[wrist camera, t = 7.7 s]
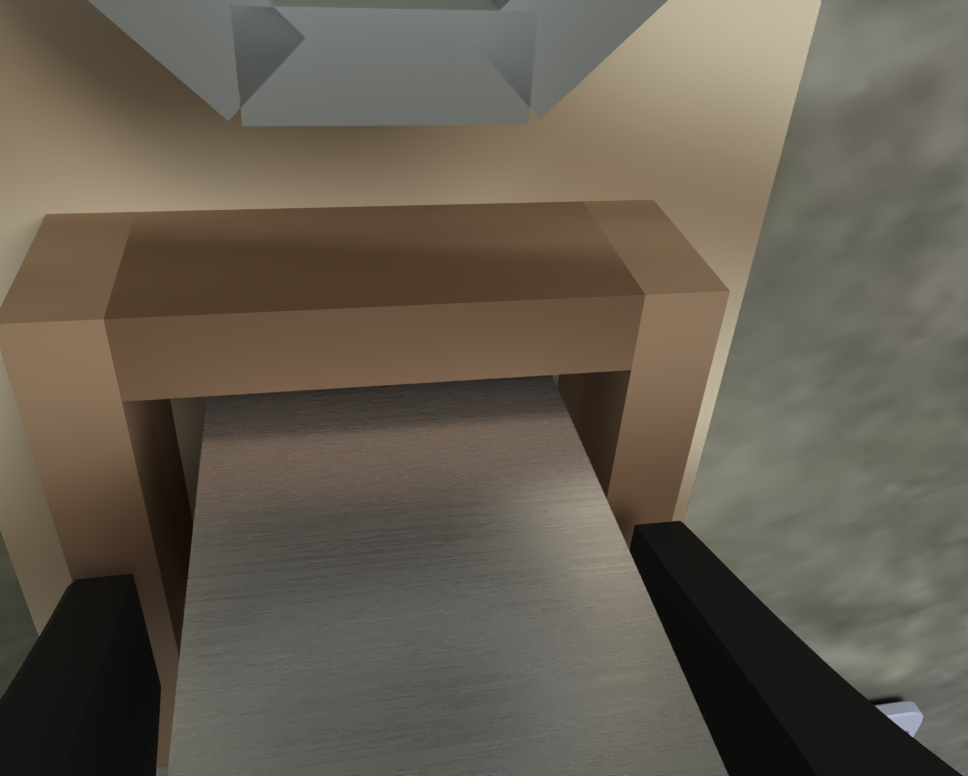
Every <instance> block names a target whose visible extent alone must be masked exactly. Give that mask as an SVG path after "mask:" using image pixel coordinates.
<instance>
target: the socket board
mask: <svg viewBox="0 0 968 776" xmlns="http://www.w3.org/2000/svg"><path fill="white" fill-rule="evenodd" d="M821 1H822V0H0V531H1V534H2V537H3V540H4V542H5V545H6V548H7V551H8V554H9V556H10V559H11V562H12V565H13V567H14V570H15V573H16V576H17V578H18V581H19V584H20V587H21V589H22V592H23V595H24V598H25V600H26V603H27V606H28V609H29V611H30V614H31V617H32V620H33V622H34V625H35V628H36V631H37V633H38V636H40V634H41V633H42V631H43V629H44V627H45V626H46V624H47V622H48V620H49V619H50V617H51V615H52V613H53V612H54V610H55V608H56V606H57V604H58V603H59V601H60V599H61V597H62V595H63V593H64V592H65V590H66V588H67V587H68V586H69V585H70V584H71V583H72V582H73V581H74V580H75V579H84V578H94V577H105V576H115V575H125V574H133V576H134V580H135V584H136V588H137V592H138V596H139V600H140V604H141V608H142V612H143V616H144V620H145V624H146V628H147V632H148V636H149V640H150V644H151V648H152V652H153V656H154V660H155V664H156V668H157V672H158V676H159V680H160V684H161V699H160V718H159V736H158V751H157V766H156V767H158V766H165V765H168V763H169V753H170V744H171V734H172V725H173V715H174V706H175V696H176V687H177V677H178V667H179V658H180V648H181V639H182V629H183V620H184V610H185V601H186V591H187V582H188V572H189V562H190V553H191V543H192V534H193V524H194V515H195V505H196V496H197V486H198V476H199V467H200V457H201V448H202V438H203V429H204V419H205V410H206V400H207V396H221V395H237V394H253V393H269V392H285V391H302V390H318V389H334V388H350V387H366V386H382V385H398V384H414V383H430V382H447V381H463V380H479V379H495V378H511V377H527V376H543V375H552V377H553V379H554V381H555V384H556V386H557V388H558V391H559V393H560V395H561V397H562V400H563V402H564V404H565V406H566V409H567V411H568V413H569V415H570V418H571V420H572V422H573V424H574V427H575V429H576V431H577V434H578V436H579V438H580V440H581V443H582V445H583V447H584V449H585V452H586V454H587V456H588V458H589V461H590V463H591V465H592V467H593V470H594V472H595V474H596V477H597V479H598V481H599V483H600V486H601V488H602V490H603V492H604V495H605V497H606V499H607V501H608V504H609V506H610V508H611V510H612V513H613V515H614V517H615V520H616V522H617V524H618V526H619V529H620V531H621V533H622V535H623V538H624V540H625V542H626V544H627V547H628V549H630V544H631V540H632V535H633V531H634V526H635V525H639V524H649V523H660V522H670V521H680V520H681V521H682V522H683V523H684V519H685V515H686V512H687V508H688V504H689V500H690V497H691V493H692V489H693V485H694V481H695V478H696V474H697V470H698V466H699V462H700V459H701V455H702V451H703V447H704V444H705V440H706V436H707V432H708V428H709V425H710V421H711V417H712V413H713V409H714V406H715V402H716V398H717V394H718V391H719V387H720V383H721V379H722V375H723V372H724V368H725V364H726V360H727V356H728V353H729V349H730V345H731V341H732V338H733V334H734V330H735V326H736V322H737V319H738V315H739V311H740V307H741V303H742V300H743V296H744V292H745V288H746V285H747V281H748V277H749V273H750V269H751V266H752V262H753V258H754V254H755V250H756V247H757V243H758V239H759V235H760V232H761V228H762V224H763V220H764V216H765V213H766V209H767V205H768V201H769V198H770V194H771V190H772V186H773V182H774V179H775V175H776V171H777V167H778V163H779V160H780V156H781V152H782V148H783V145H784V141H785V137H786V133H787V129H788V126H789V122H790V118H791V114H792V110H793V107H794V103H795V99H796V95H797V92H798V88H799V84H800V80H801V76H802V73H803V69H804V65H805V61H806V57H807V54H808V50H809V46H810V42H811V39H812V35H813V31H814V27H815V23H816V20H817V16H818V12H819V8H820V4H821Z"/></svg>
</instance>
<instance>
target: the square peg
mask: <svg viewBox="0 0 968 776" xmlns="http://www.w3.org/2000/svg"><path fill="white" fill-rule="evenodd" d="M167 776H729V775H728V773H727V771H726V768H725V766H724V764H723V762H722V759H721V757H720V755H719V753H718V750H717V748H716V746H715V744H714V741H713V739H712V737H711V734H710V732H709V730H708V728H707V725H706V723H705V721H704V719H703V716H702V714H701V712H700V710H699V707H698V705H697V703H696V701H695V698H694V696H693V694H692V691H691V689H690V687H689V685H688V682H687V680H686V678H685V676H684V673H683V671H682V669H681V667H680V664H679V662H678V660H677V658H676V655H675V653H674V651H673V648H672V646H671V644H670V642H669V639H668V637H667V635H666V633H665V630H664V628H663V626H662V624H661V621H660V619H659V617H658V615H657V612H656V610H655V608H654V606H653V603H652V601H651V599H650V596H649V594H648V592H647V590H646V587H645V585H644V583H643V581H642V578H641V576H640V574H639V572H638V569H637V567H636V565H635V563H634V560H633V558H632V556H631V553H630V551H629V549H628V547H627V544H626V542H625V540H624V538H623V535H622V533H621V531H620V529H619V526H618V524H617V522H616V520H615V517H614V515H613V513H612V510H611V508H610V506H609V504H608V501H607V499H606V497H605V495H604V492H603V490H602V488H601V486H600V483H599V481H598V479H597V477H596V474H595V472H594V470H593V467H592V465H591V463H590V461H589V458H588V456H587V454H586V452H585V449H584V447H583V445H582V443H581V440H580V438H579V436H578V434H577V431H576V429H575V427H574V424H573V422H572V420H571V418H570V415H569V413H568V411H567V409H566V406H565V404H564V402H563V400H562V397H561V395H560V393H559V391H558V388H557V386H556V384H555V381H554V379H553V377H552V375H543V376H527V377H511V378H495V379H479V380H463V381H447V382H430V383H414V384H398V385H382V386H366V387H350V388H334V389H318V390H302V391H285V392H269V393H253V394H237V395H221V396H207V400H206V410H205V419H204V429H203V438H202V448H201V457H200V467H199V476H198V486H197V496H196V505H195V515H194V524H193V534H192V543H191V553H190V562H189V572H188V582H187V591H186V601H185V610H184V620H183V629H182V639H181V648H180V658H179V667H178V677H177V687H176V696H175V706H174V715H173V725H172V734H171V744H170V753H169V763H168V772H167Z"/></svg>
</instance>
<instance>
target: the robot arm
mask: <svg viewBox="0 0 968 776" xmlns="http://www.w3.org/2000/svg"><path fill="white" fill-rule="evenodd" d="M629 551H630V553H631V556H632V558H633V560H634V563H635V565H636V567H637V569H638V572H639V574H640V576H641V578H642V581H643V583H644V585H645V587H646V590H647V592H648V594H649V596H650V599H651V601H652V603H653V606H654V608H655V610H656V612H657V615H658V617H659V619H660V621H661V624H662V626H663V628H664V630H665V633H666V635H667V637H668V639H669V642H670V644H671V646H672V648H673V651H674V653H675V655H676V658H677V660H678V662H679V664H680V667H681V669H682V671H683V673H684V676H685V678H686V680H687V682H688V685H689V687H690V689H691V691H692V694H693V696H694V698H695V701H696V703H697V705H698V707H699V710H700V712H701V714H702V716H703V719H704V721H705V723H706V725H707V728H708V730H709V732H710V734H711V737H712V739H713V741H714V744H715V746H716V748H717V750H718V753H719V755H720V757H721V759H722V762H723V764H724V766H725V768H726V771H727V773H728V775H729V776H962V775H961V774H960V773H959V772H957V771H956V770H955V769H953V768H952V767H951V766H949V765H948V764H947V763H945V762H944V761H943V760H941V759H940V758H939V757H937V756H936V755H935V754H933V753H932V752H931V751H930V750H928V749H927V748H926V747H924V746H923V745H922V744H920V743H919V742H918V741H917V740H915V739H914V738H913V736H914V735H915V733H916V731H917V729H918V728H919V726H920V724H921V722H922V719H923V715H922V713H921V712H920V710H919V709H918V707H917V706H916V704H915V703H913V702H910V701H901V702H894V703H887V704H880V705H873V704H872V703H871V702H870V701H869V700H867V699H866V698H865V697H864V696H863V695H862V694H860V693H859V692H858V691H857V690H856V689H855V688H853V687H852V686H851V685H850V684H849V683H848V682H847V681H846V680H844V679H843V678H842V677H841V676H840V675H839V674H838V673H837V672H836V671H834V670H833V669H832V668H831V667H830V666H829V665H828V664H827V663H826V662H824V661H823V660H822V659H821V658H820V657H819V656H818V655H817V654H816V653H815V652H814V651H813V650H812V649H811V648H810V647H809V646H807V645H806V644H805V643H804V642H803V641H802V640H801V639H800V638H799V637H798V636H797V635H796V634H795V633H794V632H793V631H792V630H790V629H789V628H788V627H787V626H786V625H785V624H784V623H783V622H782V621H781V620H780V619H779V618H778V617H777V616H776V615H775V614H774V613H773V612H772V611H771V610H770V609H769V608H768V607H767V606H766V605H765V604H764V603H762V602H761V601H760V600H759V599H758V598H757V597H756V596H755V595H754V594H753V593H752V592H751V591H750V590H749V589H748V588H747V587H746V586H745V585H744V584H743V583H742V582H741V581H740V580H739V579H738V578H737V577H736V576H735V575H734V574H733V573H732V572H731V571H730V570H729V569H728V568H727V567H726V566H725V564H724V563H723V562H722V561H721V560H720V559H719V558H718V557H717V556H716V555H715V554H714V553H713V552H712V551H711V550H710V549H709V548H708V547H707V546H706V545H705V544H704V543H703V542H702V541H701V540H700V539H699V538H698V537H697V536H696V535H695V534H694V533H693V532H692V531H691V530H690V529H689V528H688V527H687V526H686V525H685V524H684V523H683V522H682V521H681V520H680V521H670V522H660V523H649V524H639V525H635V526H634V531H633V535H632V540H631V544H630V549H629ZM160 699H161V684H160V680H159V676H158V672H157V668H156V664H155V660H154V656H153V652H152V648H151V644H150V640H149V636H148V632H147V628H146V624H145V620H144V616H143V612H142V608H141V604H140V600H139V596H138V592H137V588H136V584H135V580H134V576H133V574H125V575H115V576H105V577H94V578H84V579H75V580H74V581H73V582H72V583H71V584H70V585H69V586H68V587H67V588H66V590H65V592H64V593H63V595H62V597H61V599H60V601H59V603H58V604H57V606H56V608H55V610H54V612H53V613H52V615H51V617H50V619H49V620H48V622H47V624H46V626H45V627H44V629H43V631H42V633H41V634H40V636H39V638H38V639H37V641H36V643H35V645H34V646H33V648H32V650H31V651H30V653H29V655H28V656H27V658H26V660H25V661H24V663H23V664H22V666H21V668H20V669H19V671H18V673H17V674H16V676H15V677H14V679H13V681H12V682H11V684H10V686H9V687H8V689H7V690H6V692H5V694H4V695H3V697H2V698H1V700H0V776H156V766H157V751H158V736H159V718H160Z"/></svg>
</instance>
